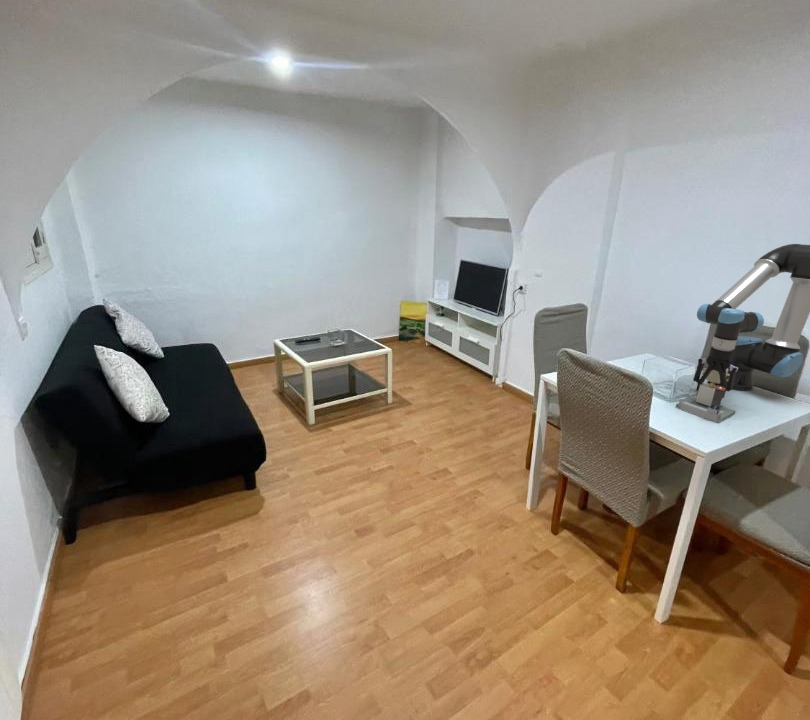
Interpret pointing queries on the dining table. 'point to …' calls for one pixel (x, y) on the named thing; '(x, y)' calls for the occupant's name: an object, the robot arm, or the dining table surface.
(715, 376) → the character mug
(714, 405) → the lever
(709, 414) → the base plate
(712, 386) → the housing
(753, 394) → the dining table surface
